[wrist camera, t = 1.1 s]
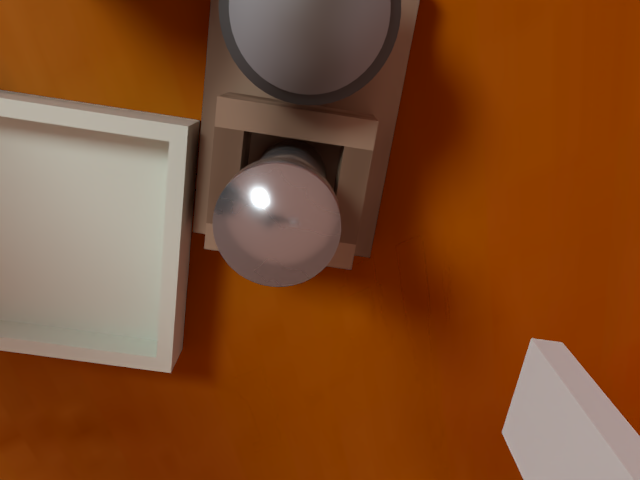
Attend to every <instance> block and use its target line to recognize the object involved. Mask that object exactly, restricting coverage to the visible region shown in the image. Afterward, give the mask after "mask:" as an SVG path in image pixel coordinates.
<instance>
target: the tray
mask: <svg viewBox="0 0 640 480" xmlns="http://www.w3.org/2000/svg"><path fill="white" fill-rule="evenodd" d="M199 127H200V120H194V119H188V118H181V117H175V116H168V115H162V114H155V113H149V112H142V111H136V110H129V109H122V108H116V107H109V106H103V105H96V104H90V103H83V102H77V101H70V100H64V99H57V98H51V97H44V96H37V95H31V94H24V93H18V92H11V91H5V90H0V350H1V351H8V352H16V353H23V354H31V355H39V356H46V357H54V358H61V359H69V360H76V361H84V362H91V363H99V364H106V365H114V366H121V367H129V368H136V369H144V370H151V371H159V372H166V373H171V372H172V370H173V368H174V366H175V364H176V362H177V359H178V357H179V355H180V353H181V351H182V348H183V335H184V322H185V309H186V296H187V283H188V270H189V257H190V244H191V231H192V218H193V205H194V192H195V179H196V166H197V153H198V140H199Z"/></svg>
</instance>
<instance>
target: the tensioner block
mask: <svg viewBox="0 0 640 480" xmlns="http://www.w3.org/2000/svg"><path fill="white" fill-rule="evenodd" d="M419 1H420V0H211V4H210V17H209V30H208V43H207V56H206V69H205V82H204V95H203V107H202V120H201V133H200V146H199V159H198V172H197V185H196V198H195V210H194V223H193V232H195V233H202V234H205V244H204V249H209V250H216V251H219V250H218V247H217V245H216V242H215V238H214V235H213V214H214V209H215V206H216V203H217V200H218V198H219V196H220V194H221V193H222V191H223V190H224V188H225V187H226V186H227V184H228V183H229V182H230V180H231V179H232V178H233V177H234V176H235V175H236V174H237V173H238V172H239V171H240V170H241V169H243V168H244V167H246V166H247V165H249V164H251V163H253V162H255V161H259V160H260V159H261V157H262V156H263V154H264V153H265V151H266V150H267V149H268V148H270V147H271V146H272V145H274V144H276V143H278V142H280V141H284V140H298V141H302V142H304V143H306V144H308V145H310V146H311V147H313V148H314V149H315V150H316V151H317V152H318V153H319V155H320V156H321V158H322V160H323V163H324V166H325V174H326V180H327V181H328V182H329V184H330V185H331V187H332V188H333V190H334V192H335V195H336V197H337V200H338V203H339V209H340V217H341V236H340V241H339V245H338V247H337V250H336V252H335V254H334V256H333V258H332V259H331V261H330V262H329V263H328V265H327V266H328V267H335V268H342V269H349V270H351V269H352V264H353V259H354V256H361V257H368V258H370V254H371V249H372V244H373V239H374V234H375V229H376V223H377V218H378V213H379V208H380V203H381V198H382V192H383V187H384V182H385V177H386V172H387V167H388V161H389V156H390V151H391V146H392V141H393V136H394V130H395V125H396V120H397V115H398V110H399V105H400V99H401V94H402V89H403V84H404V79H405V74H406V69H407V63H408V58H409V53H410V48H411V43H412V38H413V32H414V27H415V22H416V17H417V12H418V7H419Z"/></svg>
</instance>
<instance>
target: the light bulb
mask: <svg viewBox="0 0 640 480" xmlns="http://www.w3.org/2000/svg"><path fill="white" fill-rule="evenodd" d="M213 235H214V238H215V242H216V245H217V247H218V250H219V252H220V253H221V255H222V257H223V258H224V260H225V261H226V262H227V264H228V265H229V266H230V267H231V268H232V269H233V270H235V271H236V272H237V273H238V274H240V275H241V276H243V277H244V278H246V279H248V280H250V281H252V282H255V283H258V284H261V285H266V286H273V287H286V286H292V285H296V284H299V283H302V282H305V281H307V280H309V279H311V278H312V277H314V276H316V275H317V274H318V273H319V272H321V271H322V270H323V269H324V268H325V267H326V266H327V265H328V263H329V262H330V261H331V259H332V258H333V256H334V254H335V252H336V250H337V247H338V245H339V241H340V236H341V217H340V209H339V203H338V200H337V197H336V195H335V192H334V190H333V188H332V187H331V185H330V184H329V182H328V181H327V180H326V174H325V166H324V163H323V160H322V158H321V156H320V155H319V153H318V152H317V151H316V150H315V149H314V148H313V147H311V146H310V145H308V144H306V143H304V142H302V141H298V140H284V141H280V142H278V143H276V144H274V145H272V146H271V147H270V148H268V149H267V150H266V151H265V153H264V154H263V156H262V157H261V159H260V160H259V161H255V162H253V163H251V164H249V165H247V166H246V167H244V168H243V169H241V170H240V171H239V172H238V173H237V174H236V175H235V176H234V177H233V178H232V179H231V180H230V182H229V183H228V184H227V186H226V187H225V188H224V190H223V191H222V193H221V194H220V196H219V198H218V200H217V203H216V206H215V209H214V214H213Z"/></svg>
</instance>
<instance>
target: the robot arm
mask: <svg viewBox="0 0 640 480" xmlns="http://www.w3.org/2000/svg"><path fill="white" fill-rule="evenodd" d="M502 434H503V436H504V438H505V441H506V443H507V445H508V447H509V449H510V451H511V454H512V456H513V458H514V460H515V462H516V464H517V467H518V469H519V471H520V473H521V475H522V477H523V480H640V436H639V435H638V434H637V433H636V431H635V430H634V429H633V428H632V426H631V425H630V424H629V423H628V422H627V420H626V419H625V418H624V417H623V416H622V414H621V413H620V412H619V411H618V409H617V408H616V407H615V406H614V405H613V403H612V402H611V401H610V400H609V399H608V397H607V396H606V395H605V394H604V392H603V391H602V390H601V389H600V388H599V386H598V385H597V384H596V383H595V382H594V380H593V379H592V378H591V377H590V375H589V374H588V373H587V372H586V371H585V369H584V368H583V367H582V366H581V364H580V363H579V362H578V361H577V360H576V358H575V357H574V356H573V355H572V354H571V352H570V351H569V350H568V349H567V347H566V346H565V345H564V344H563V343H562V342H555V341H548V340H541V339H534V338H531V341H530V344H529V347H528V350H527V353H526V357H525V360H524V363H523V366H522V369H521V373H520V376H519V379H518V382H517V385H516V389H515V392H514V395H513V398H512V401H511V405H510V408H509V411H508V414H507V417H506V421H505V424H504V427H503V430H502Z"/></svg>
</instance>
